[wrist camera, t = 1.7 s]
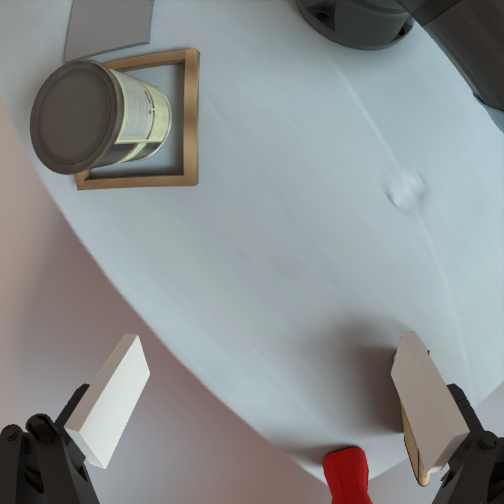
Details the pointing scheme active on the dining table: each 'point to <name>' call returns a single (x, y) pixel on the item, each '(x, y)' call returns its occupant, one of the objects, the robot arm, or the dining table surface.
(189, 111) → the frame
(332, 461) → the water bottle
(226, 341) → the dining table surface
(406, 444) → the clutch purse
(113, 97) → the coffee can
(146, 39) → the mat
